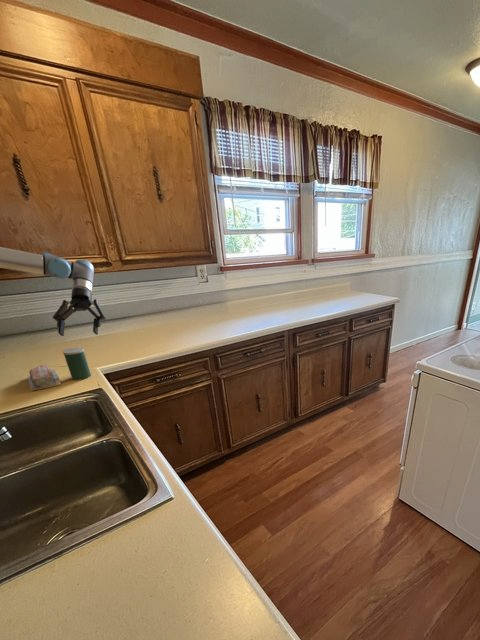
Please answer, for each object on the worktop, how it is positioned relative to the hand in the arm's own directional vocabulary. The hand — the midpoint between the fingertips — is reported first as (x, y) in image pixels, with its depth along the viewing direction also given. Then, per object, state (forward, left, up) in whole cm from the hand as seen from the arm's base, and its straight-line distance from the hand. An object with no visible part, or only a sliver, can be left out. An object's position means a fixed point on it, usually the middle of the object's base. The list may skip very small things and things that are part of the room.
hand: (78, 333), depth 140 cm
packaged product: (-13, -12, -17) cm, 24 cm away
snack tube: (0, -9, -16) cm, 19 cm away
